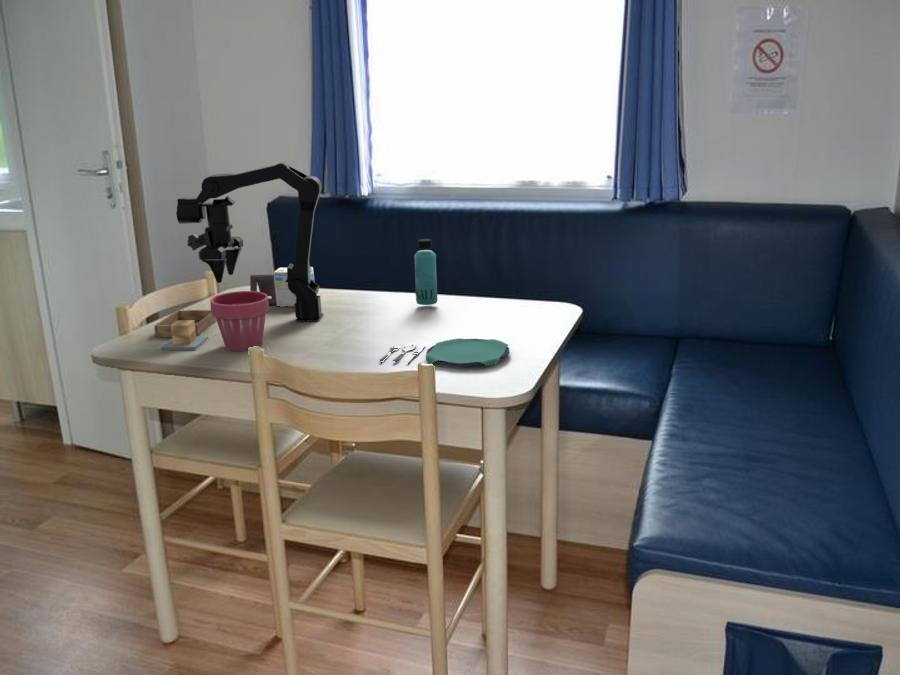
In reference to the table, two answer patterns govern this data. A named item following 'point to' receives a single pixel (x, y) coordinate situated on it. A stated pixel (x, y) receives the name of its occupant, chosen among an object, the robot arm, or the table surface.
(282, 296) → the light bulb box
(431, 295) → the beverage bottle
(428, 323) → the table surface
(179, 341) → the beech block
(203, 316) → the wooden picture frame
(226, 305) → the plant pot
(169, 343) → the slate pad
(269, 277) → the portable electronic device stand
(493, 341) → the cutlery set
